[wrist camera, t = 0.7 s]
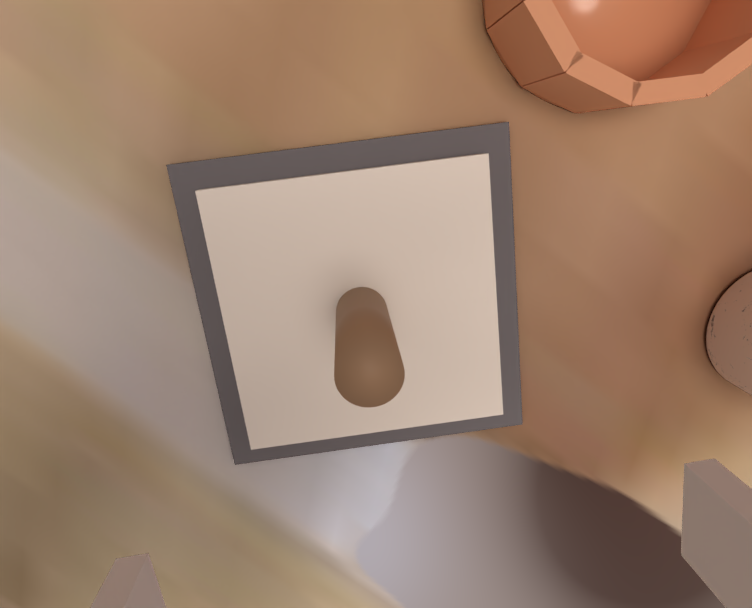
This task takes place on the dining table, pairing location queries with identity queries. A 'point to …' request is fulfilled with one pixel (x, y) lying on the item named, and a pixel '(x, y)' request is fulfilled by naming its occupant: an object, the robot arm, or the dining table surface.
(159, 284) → the dining table surface
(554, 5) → the bowl
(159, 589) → the robot arm
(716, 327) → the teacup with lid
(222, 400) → the mat
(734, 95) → the dining table surface
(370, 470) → the dining table surface
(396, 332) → the lid
